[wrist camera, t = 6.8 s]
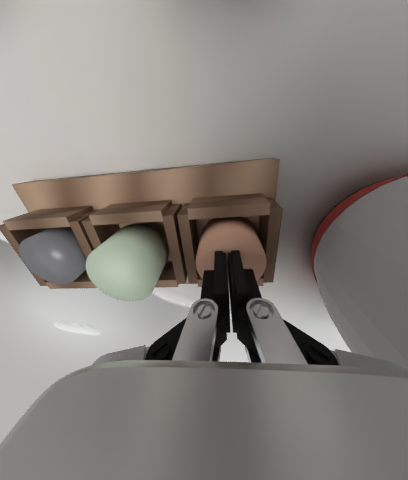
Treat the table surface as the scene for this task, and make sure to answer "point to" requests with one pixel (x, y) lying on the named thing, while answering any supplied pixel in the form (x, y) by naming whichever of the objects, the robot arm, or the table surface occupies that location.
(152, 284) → the sage button
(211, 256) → the terracotta button
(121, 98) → the table surface
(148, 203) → the wooden compartment tray
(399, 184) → the citrus juicer
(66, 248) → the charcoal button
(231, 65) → the table surface
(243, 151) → the table surface
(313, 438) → the robot arm
